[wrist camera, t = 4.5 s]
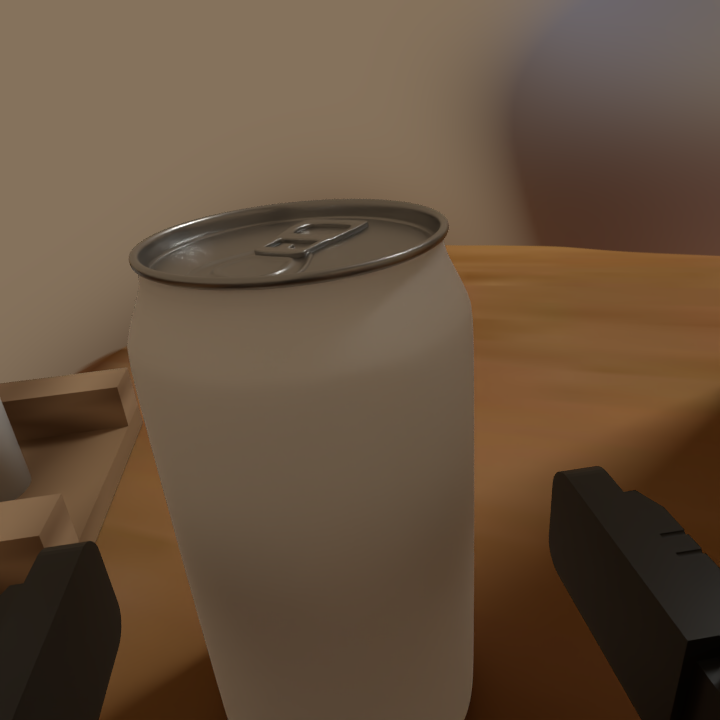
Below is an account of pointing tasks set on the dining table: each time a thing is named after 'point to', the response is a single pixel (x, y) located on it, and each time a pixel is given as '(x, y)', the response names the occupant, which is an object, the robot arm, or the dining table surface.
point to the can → (317, 452)
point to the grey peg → (11, 462)
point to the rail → (65, 461)
